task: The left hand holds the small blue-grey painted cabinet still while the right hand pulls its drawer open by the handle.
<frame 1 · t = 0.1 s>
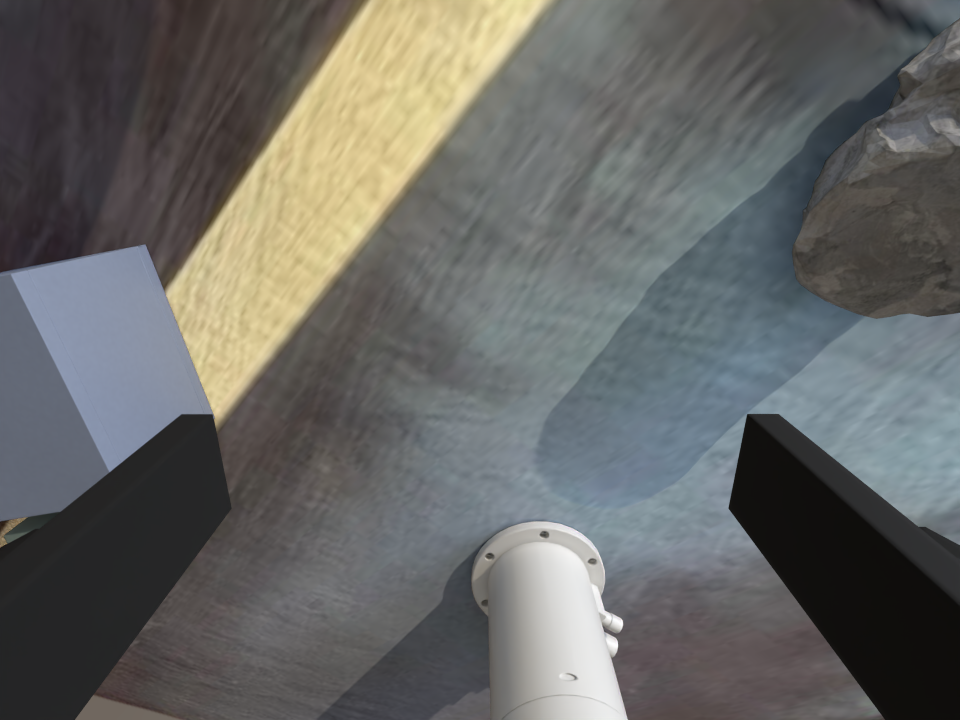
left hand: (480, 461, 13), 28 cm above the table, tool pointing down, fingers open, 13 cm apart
drawer: (102, 454, 38), point 6 cm above the table, slide at 1.7 cm
cabinet: (118, 348, 41), on the table
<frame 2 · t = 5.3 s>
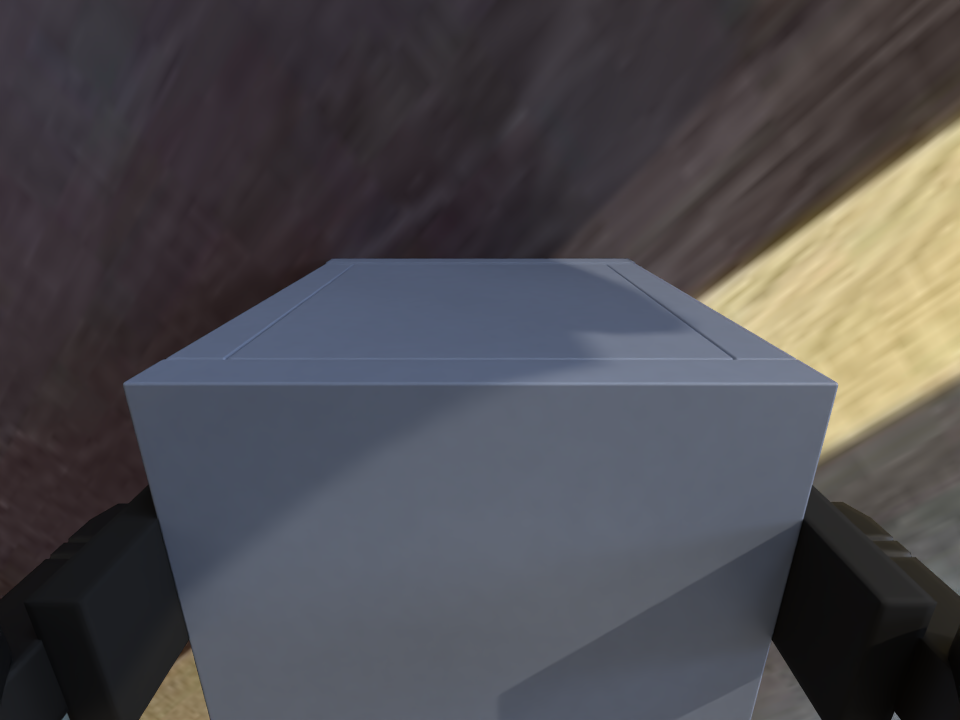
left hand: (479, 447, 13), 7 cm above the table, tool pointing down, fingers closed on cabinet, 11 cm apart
cabinet: (480, 437, 21), on the table, touching left hand
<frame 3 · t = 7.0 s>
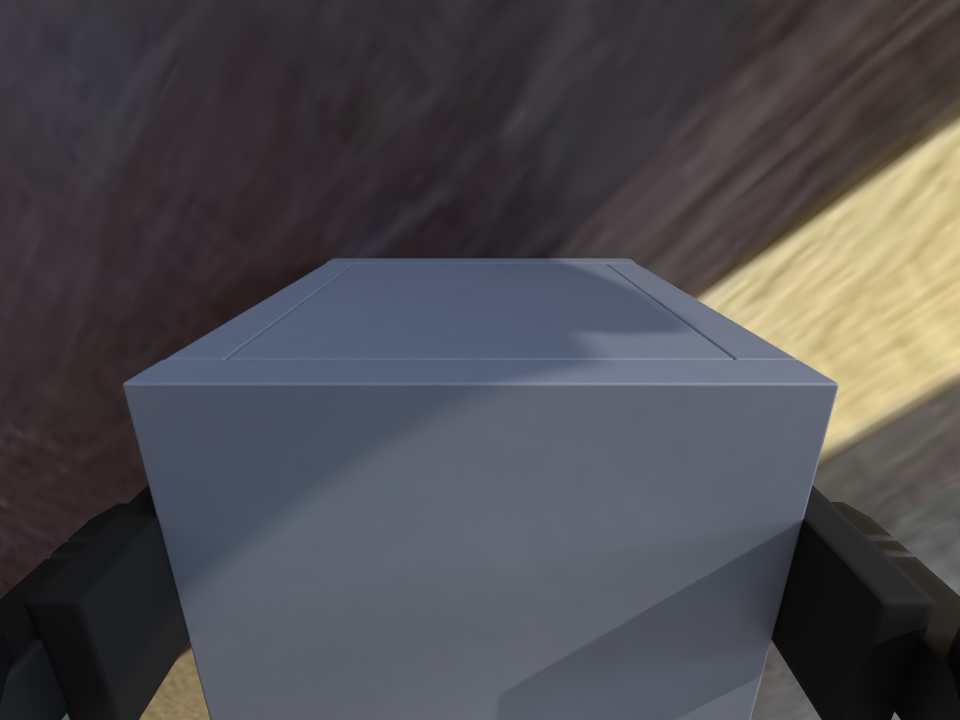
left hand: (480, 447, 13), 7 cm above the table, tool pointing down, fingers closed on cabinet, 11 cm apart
cabinet: (480, 436, 21), on the table, touching left hand
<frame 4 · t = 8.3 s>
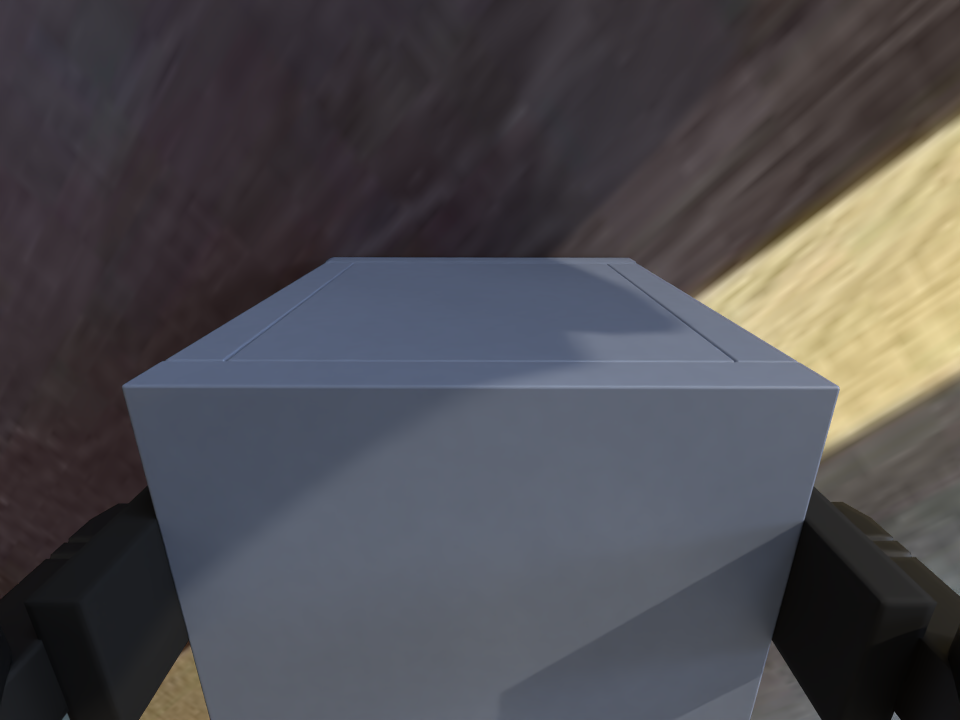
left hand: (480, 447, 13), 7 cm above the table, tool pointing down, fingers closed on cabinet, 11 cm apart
cabinet: (480, 436, 21), on the table, touching left hand
when the left hand's fingers open (7 cm above the table, at t = 10.3 s): cabinet stays where it is, on the table.
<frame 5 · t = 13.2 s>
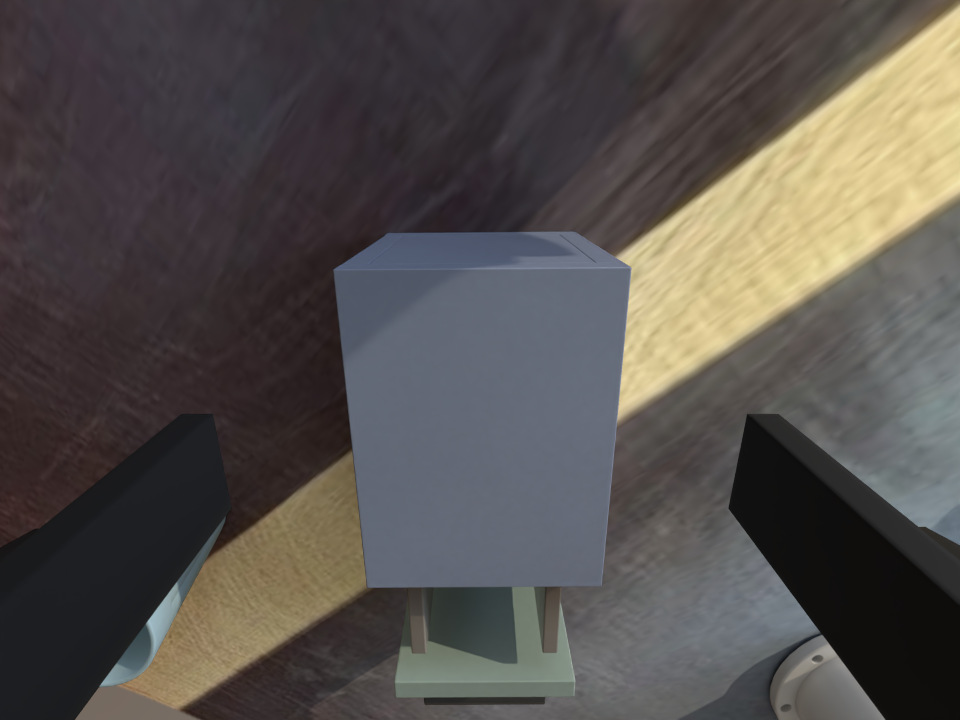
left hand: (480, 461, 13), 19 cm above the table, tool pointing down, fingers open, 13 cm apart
drawer: (483, 575, 31), point 6 cm above the table, slide at 7.4 cm
cabinet: (482, 352, 32), on the table
cup: (188, 507, 36), on the table
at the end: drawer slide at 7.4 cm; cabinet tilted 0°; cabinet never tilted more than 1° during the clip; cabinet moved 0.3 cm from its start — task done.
